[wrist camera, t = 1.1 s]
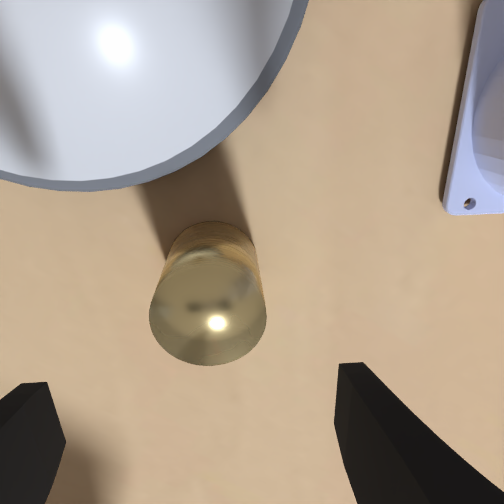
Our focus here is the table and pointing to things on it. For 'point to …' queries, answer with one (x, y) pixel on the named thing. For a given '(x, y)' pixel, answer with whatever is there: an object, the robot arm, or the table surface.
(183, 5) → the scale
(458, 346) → the table surface
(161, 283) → the cylinder
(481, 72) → the robot arm
